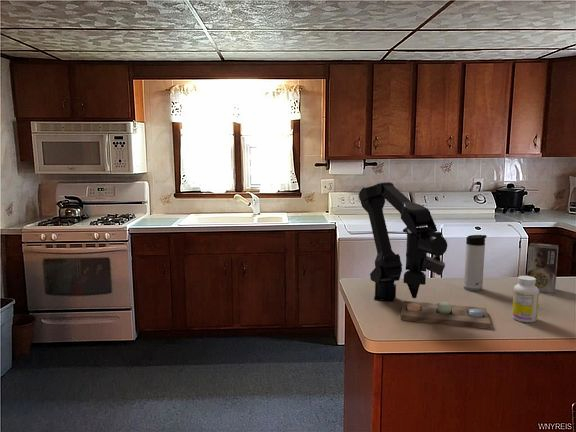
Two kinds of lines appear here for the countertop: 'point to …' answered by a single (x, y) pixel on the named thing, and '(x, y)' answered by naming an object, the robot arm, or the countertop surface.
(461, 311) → the button panel
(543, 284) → the coffee box
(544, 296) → the countertop surface
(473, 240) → the travel mug
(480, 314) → the slate button
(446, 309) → the sage button
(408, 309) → the terracotta button
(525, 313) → the supplement bottle
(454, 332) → the countertop surface
